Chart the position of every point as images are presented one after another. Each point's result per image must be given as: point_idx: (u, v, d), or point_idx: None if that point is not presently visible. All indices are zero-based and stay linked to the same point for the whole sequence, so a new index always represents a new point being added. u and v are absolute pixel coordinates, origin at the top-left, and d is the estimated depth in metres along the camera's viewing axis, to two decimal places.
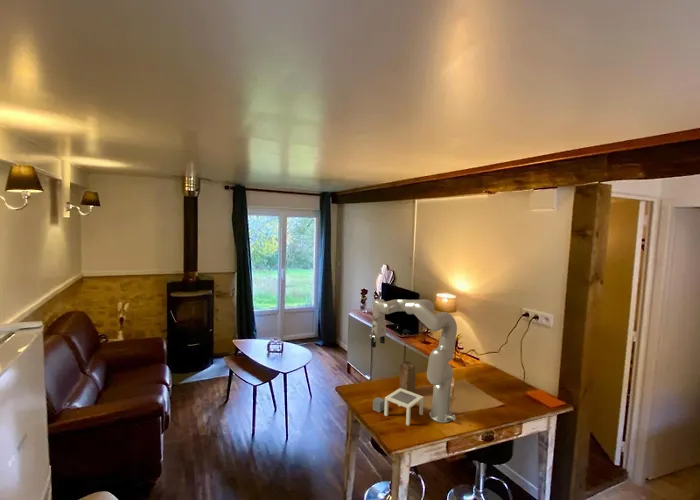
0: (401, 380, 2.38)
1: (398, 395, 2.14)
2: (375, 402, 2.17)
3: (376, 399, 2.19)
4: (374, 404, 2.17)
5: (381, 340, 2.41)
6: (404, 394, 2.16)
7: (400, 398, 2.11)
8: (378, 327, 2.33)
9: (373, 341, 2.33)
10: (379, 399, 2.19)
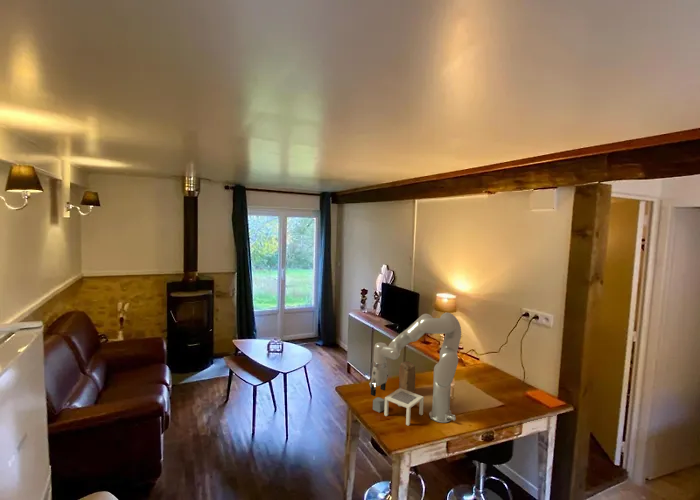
0: (401, 380, 2.38)
1: (398, 395, 2.14)
2: (375, 402, 2.17)
3: (376, 399, 2.19)
4: (374, 404, 2.17)
5: (382, 386, 2.21)
6: (404, 394, 2.16)
7: (400, 398, 2.11)
8: (379, 374, 2.12)
9: (373, 389, 2.13)
10: (379, 399, 2.19)
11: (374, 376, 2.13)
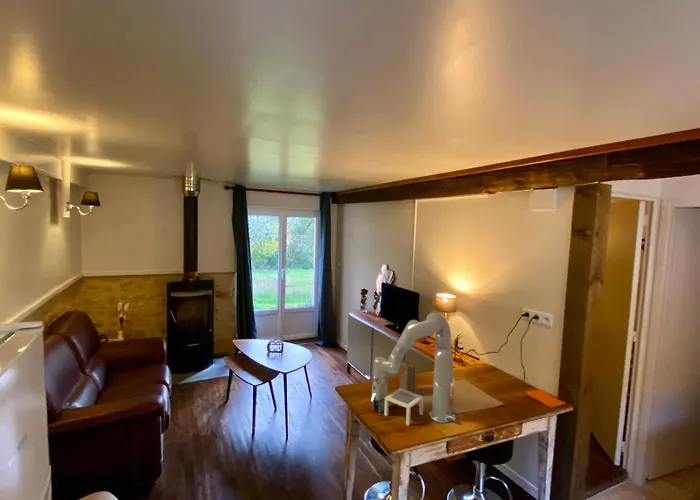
0: (401, 380, 2.38)
1: (398, 395, 2.14)
2: None
3: None
4: None
5: None
6: (404, 394, 2.16)
7: (400, 398, 2.11)
8: (379, 388, 2.13)
9: (375, 405, 2.15)
10: None
11: (374, 391, 2.14)
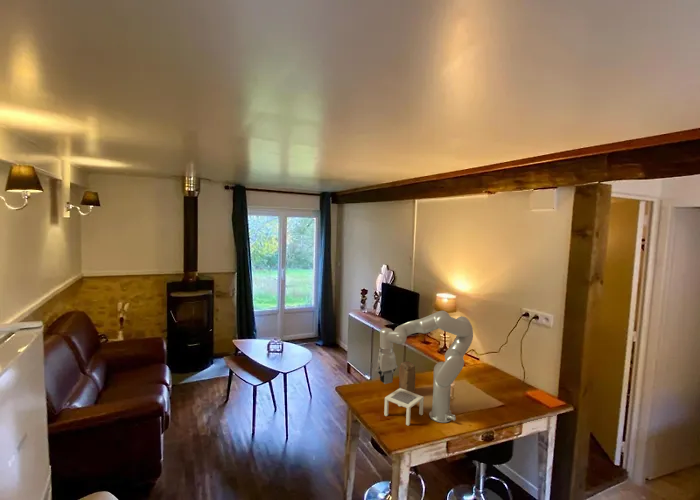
0: (401, 380, 2.38)
1: (398, 395, 2.14)
2: None
3: None
4: None
5: None
6: (404, 394, 2.16)
7: (400, 398, 2.11)
8: (383, 359, 2.10)
9: (381, 375, 2.13)
10: (387, 371, 2.15)
11: (379, 361, 2.12)
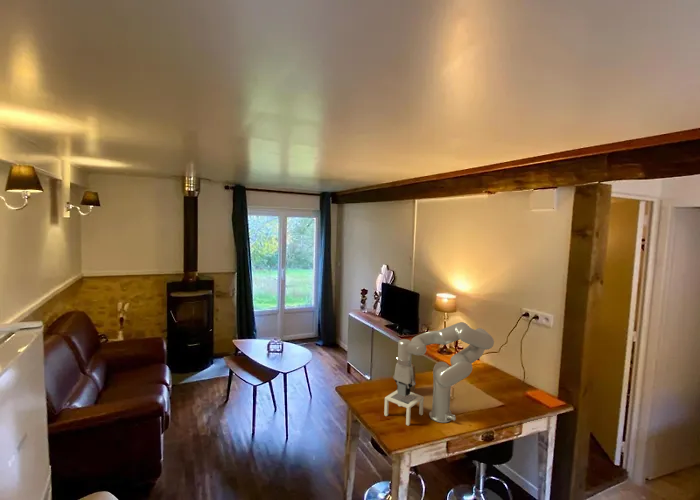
0: None
1: (398, 395, 2.14)
2: None
3: None
4: None
5: None
6: None
7: (400, 398, 2.11)
8: (396, 368, 2.10)
9: (397, 384, 2.13)
10: (404, 383, 2.10)
11: None
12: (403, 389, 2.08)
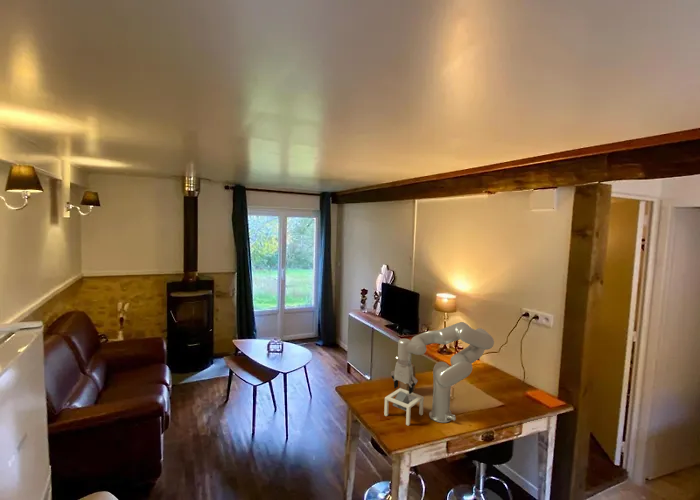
0: None
1: None
2: None
3: (401, 394, 2.11)
4: None
5: None
6: None
7: None
8: (396, 368, 2.10)
9: (394, 381, 2.14)
10: (401, 396, 2.09)
11: None
12: None
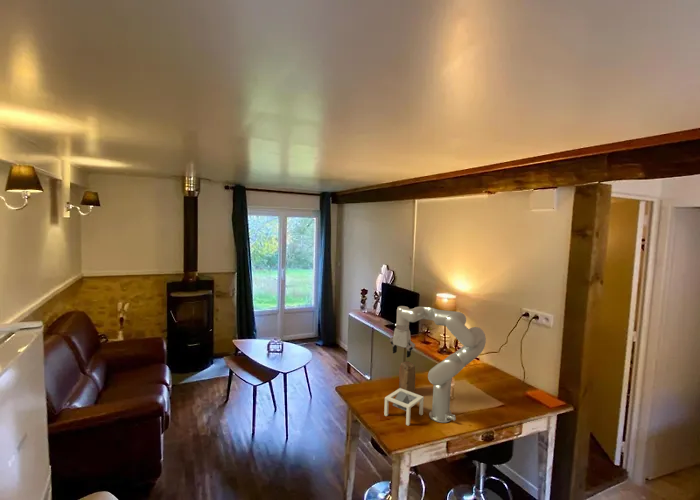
0: (401, 380, 2.38)
1: None
2: None
3: (401, 394, 2.11)
4: None
5: None
6: None
7: None
8: (395, 333, 2.23)
9: None
10: (401, 396, 2.09)
11: None
12: None
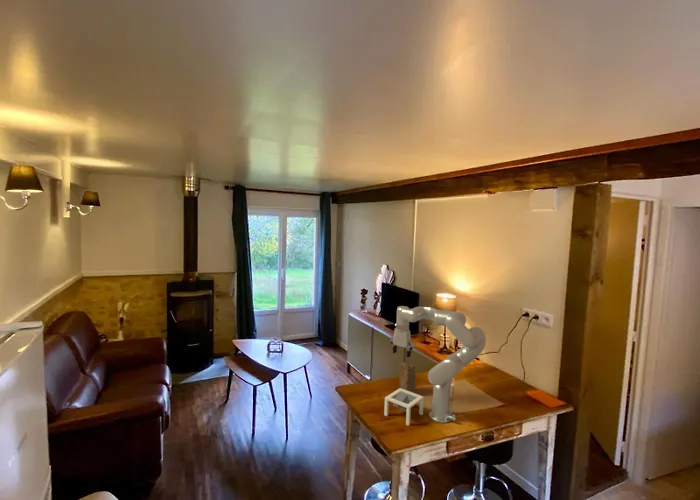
0: (401, 380, 2.38)
1: None
2: None
3: (401, 394, 2.11)
4: None
5: None
6: None
7: None
8: (395, 333, 2.23)
9: None
10: (401, 396, 2.09)
11: None
12: None
